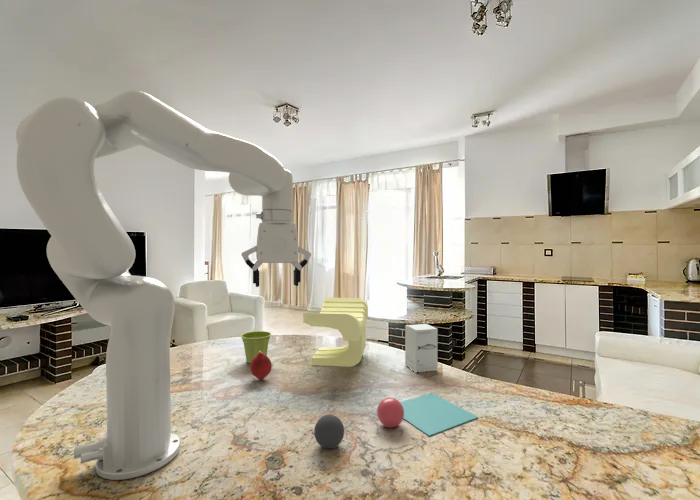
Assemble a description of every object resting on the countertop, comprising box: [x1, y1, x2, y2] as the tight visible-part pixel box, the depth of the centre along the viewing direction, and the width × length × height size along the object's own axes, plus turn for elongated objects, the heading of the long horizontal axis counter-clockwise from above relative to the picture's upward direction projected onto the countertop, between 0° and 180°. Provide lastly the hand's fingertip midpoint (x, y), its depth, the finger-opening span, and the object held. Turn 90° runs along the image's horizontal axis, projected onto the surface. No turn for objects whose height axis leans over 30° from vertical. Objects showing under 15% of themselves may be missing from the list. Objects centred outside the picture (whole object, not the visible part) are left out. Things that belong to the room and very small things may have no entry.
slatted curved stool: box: [302, 297, 369, 368], centre depth 112 cm, size 30×16×18 cm, turn 172°
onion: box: [249, 351, 273, 381], centre depth 95 cm, size 6×6×8 cm
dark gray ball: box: [313, 414, 345, 449], centre depth 63 cm, size 6×6×6 cm
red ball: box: [376, 397, 404, 428], centre depth 70 cm, size 6×6×6 cm
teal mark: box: [399, 392, 479, 437], centre depth 76 cm, size 14×14×1 cm
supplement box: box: [404, 323, 439, 374], centre depth 103 cm, size 7×7×13 cm
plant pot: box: [240, 330, 272, 364], centre depth 110 cm, size 9×9×9 cm
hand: (277, 285), depth 87 cm, fingers open, 9 cm apart
